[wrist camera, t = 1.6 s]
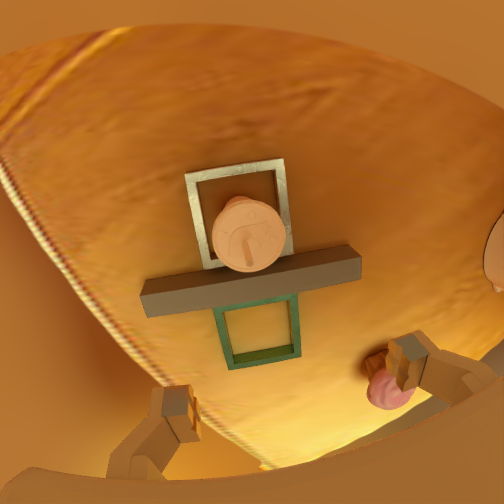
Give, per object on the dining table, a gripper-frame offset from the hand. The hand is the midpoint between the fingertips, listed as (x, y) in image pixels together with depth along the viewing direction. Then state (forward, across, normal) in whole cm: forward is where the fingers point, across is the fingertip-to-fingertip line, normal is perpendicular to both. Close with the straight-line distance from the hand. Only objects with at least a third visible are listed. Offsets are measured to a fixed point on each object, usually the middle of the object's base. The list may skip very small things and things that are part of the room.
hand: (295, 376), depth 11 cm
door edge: (+26, 0, +8) cm, 27 cm away
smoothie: (+26, 0, 0) cm, 26 cm away
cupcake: (+26, -19, +29) cm, 43 cm away
